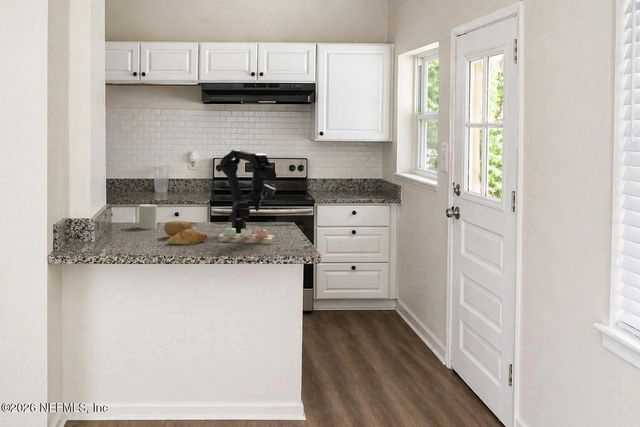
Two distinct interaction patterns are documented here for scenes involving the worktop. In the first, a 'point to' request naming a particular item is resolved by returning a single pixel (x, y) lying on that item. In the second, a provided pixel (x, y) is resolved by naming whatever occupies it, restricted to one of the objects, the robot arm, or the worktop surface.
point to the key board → (245, 239)
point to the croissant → (187, 237)
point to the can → (147, 216)
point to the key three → (261, 233)
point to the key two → (246, 232)
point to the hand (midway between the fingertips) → (257, 211)
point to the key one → (230, 232)
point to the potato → (176, 227)
